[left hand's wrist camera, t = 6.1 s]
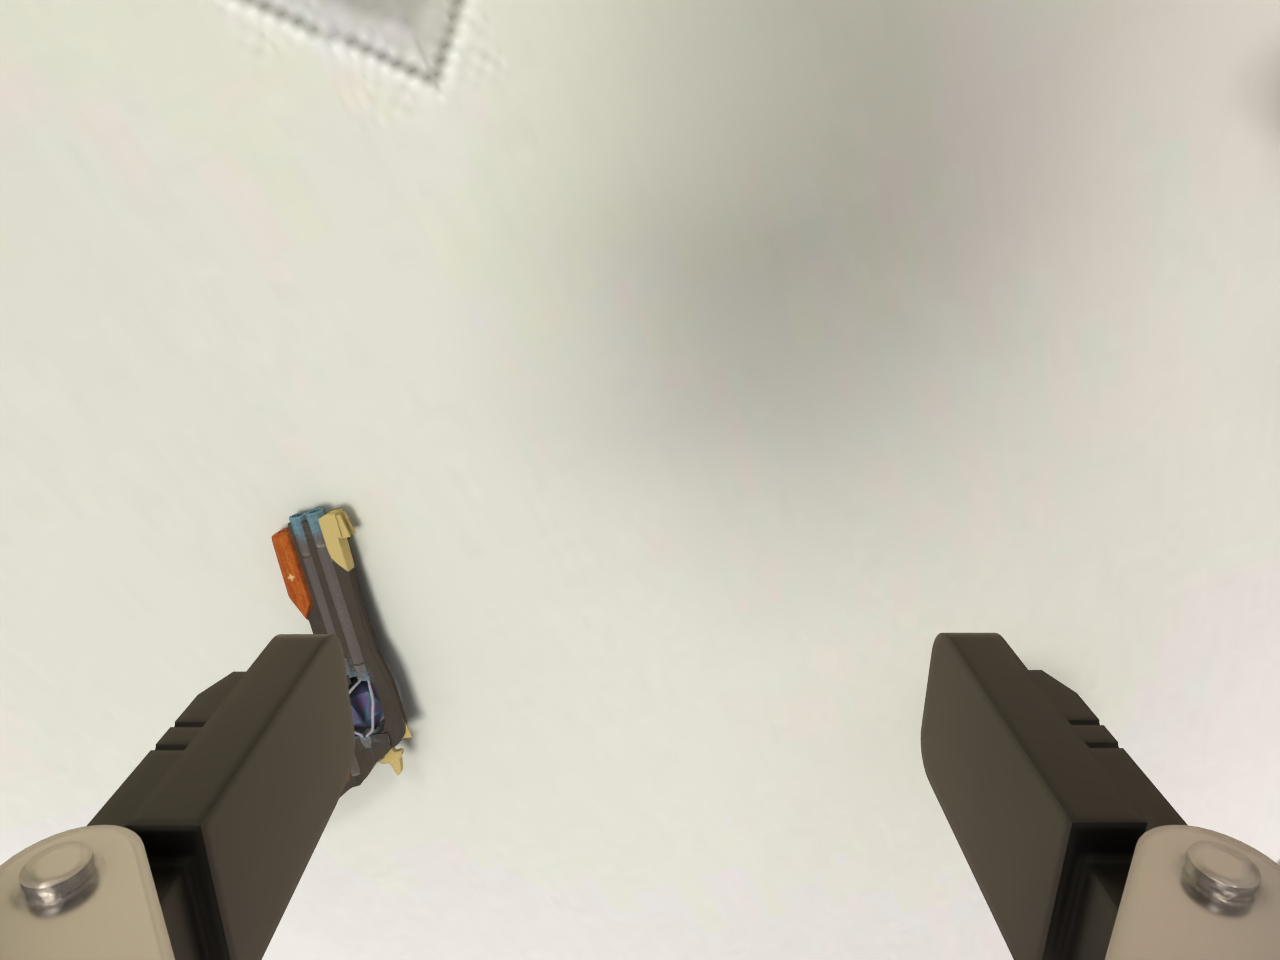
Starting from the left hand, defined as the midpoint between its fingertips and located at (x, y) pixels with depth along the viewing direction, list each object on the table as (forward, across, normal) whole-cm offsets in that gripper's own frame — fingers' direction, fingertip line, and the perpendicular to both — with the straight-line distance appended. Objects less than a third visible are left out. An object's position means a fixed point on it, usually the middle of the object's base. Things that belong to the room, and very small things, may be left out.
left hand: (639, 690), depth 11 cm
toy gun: (+32, -18, -20) cm, 42 cm away
